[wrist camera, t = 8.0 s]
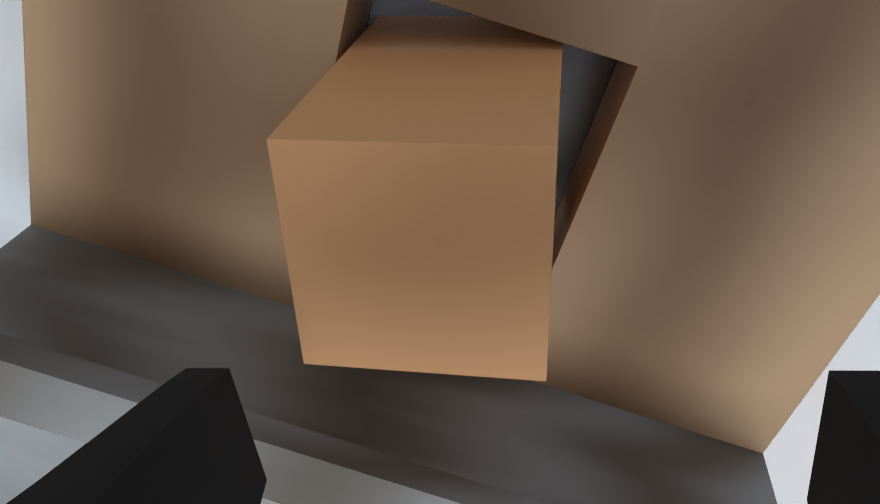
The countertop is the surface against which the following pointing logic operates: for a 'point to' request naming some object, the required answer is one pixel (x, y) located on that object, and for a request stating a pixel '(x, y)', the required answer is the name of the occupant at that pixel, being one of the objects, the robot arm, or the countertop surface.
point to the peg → (425, 199)
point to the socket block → (573, 266)
